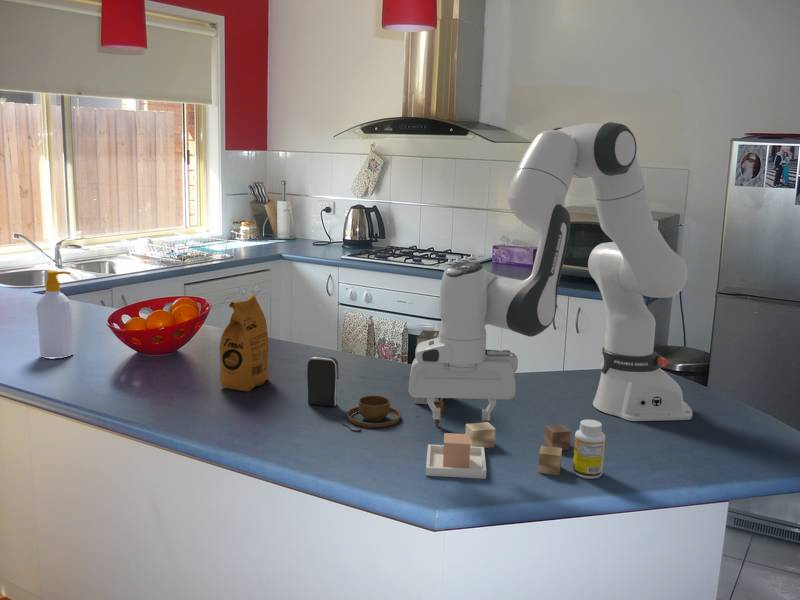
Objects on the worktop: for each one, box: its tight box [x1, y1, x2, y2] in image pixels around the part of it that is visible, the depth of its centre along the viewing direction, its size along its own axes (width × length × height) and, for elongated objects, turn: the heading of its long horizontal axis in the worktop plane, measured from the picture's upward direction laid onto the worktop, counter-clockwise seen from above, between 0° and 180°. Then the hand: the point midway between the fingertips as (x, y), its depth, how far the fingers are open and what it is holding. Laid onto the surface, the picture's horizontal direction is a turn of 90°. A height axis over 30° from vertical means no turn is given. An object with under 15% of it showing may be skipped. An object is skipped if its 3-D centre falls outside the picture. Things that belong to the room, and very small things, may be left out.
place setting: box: [346, 395, 444, 432], centre depth 170 cm, size 18×20×6 cm
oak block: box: [537, 445, 563, 476], centre depth 148 cm, size 4×4×4 cm
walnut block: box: [544, 424, 572, 451], centre depth 160 cm, size 4×4×4 cm
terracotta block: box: [443, 432, 470, 468], centre depth 149 cm, size 5×5×5 cm
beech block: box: [464, 421, 496, 449], centre depth 160 cm, size 5×4×4 cm
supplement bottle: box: [572, 419, 606, 480], centre depth 146 cm, size 6×6×10 cm
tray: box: [425, 443, 487, 480], centre depth 150 cm, size 11×11×2 cm
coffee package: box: [219, 294, 269, 392], centre depth 193 cm, size 10×12×22 cm
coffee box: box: [414, 329, 444, 405], centre depth 186 cm, size 9×6×16 cm
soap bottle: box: [36, 270, 75, 357], centre depth 213 cm, size 9×9×24 cm
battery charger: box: [306, 355, 339, 408], centre depth 181 cm, size 7×4×11 cm, turn 75°
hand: (461, 418), depth 148 cm, fingers open, 8 cm apart
